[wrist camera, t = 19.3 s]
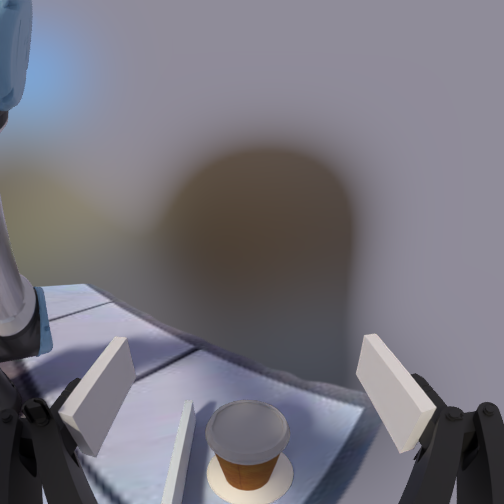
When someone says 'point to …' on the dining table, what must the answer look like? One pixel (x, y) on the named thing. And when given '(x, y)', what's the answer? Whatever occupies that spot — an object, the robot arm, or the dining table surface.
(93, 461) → the dining table surface
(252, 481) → the disposable coffee cup
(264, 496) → the mat
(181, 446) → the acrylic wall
